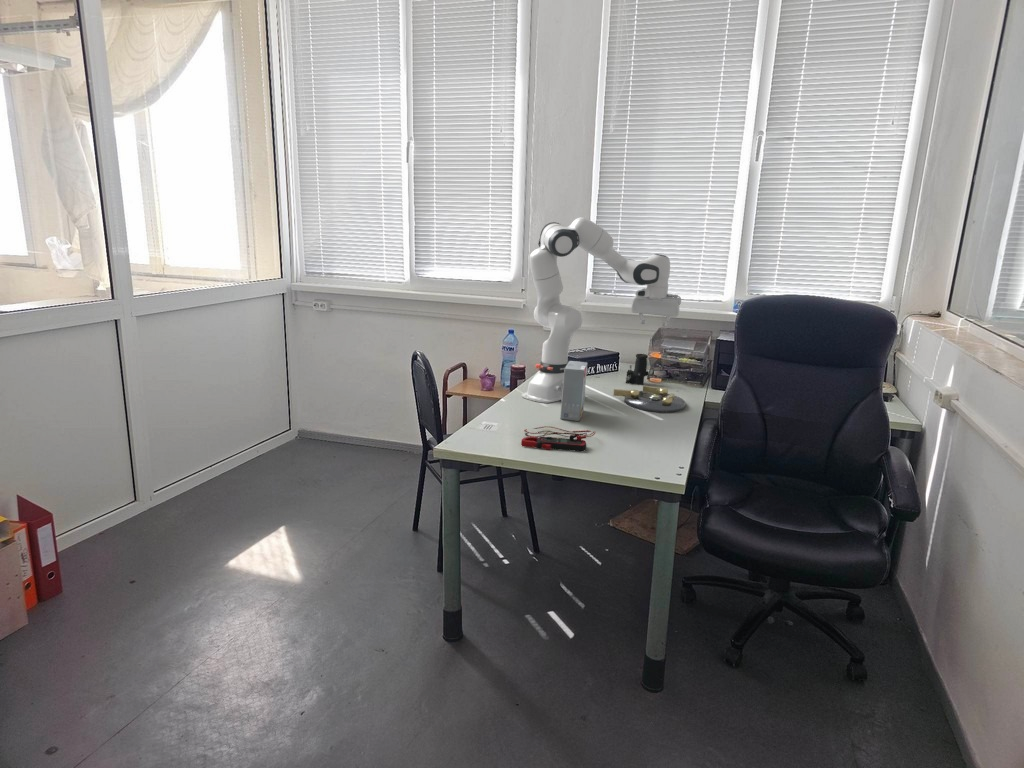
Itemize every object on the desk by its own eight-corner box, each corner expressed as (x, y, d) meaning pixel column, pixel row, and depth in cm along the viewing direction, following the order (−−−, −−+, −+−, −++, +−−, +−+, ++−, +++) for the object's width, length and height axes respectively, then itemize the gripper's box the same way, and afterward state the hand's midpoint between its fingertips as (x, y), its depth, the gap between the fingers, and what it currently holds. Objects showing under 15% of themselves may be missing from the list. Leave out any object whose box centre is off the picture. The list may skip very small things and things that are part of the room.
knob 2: (670, 406, 257) (671, 399, 256) (661, 404, 259) (662, 397, 258) (676, 400, 266) (677, 393, 266) (667, 398, 268) (668, 391, 267)
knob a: (668, 394, 275) (668, 387, 274) (666, 396, 271) (667, 389, 271) (643, 390, 278) (644, 384, 278) (642, 392, 275) (642, 386, 274)
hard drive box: (580, 421, 239) (584, 370, 234) (559, 419, 241) (563, 368, 236) (583, 410, 254) (587, 361, 249) (564, 408, 255) (568, 359, 250)
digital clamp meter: (595, 443, 206) (519, 436, 209) (594, 456, 207) (518, 449, 210) (595, 420, 228) (526, 415, 231) (594, 432, 230) (525, 426, 232)
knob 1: (638, 396, 269) (639, 389, 269) (639, 398, 266) (639, 391, 265) (613, 394, 271) (613, 387, 270) (613, 396, 267) (614, 389, 266)
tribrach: (669, 416, 251) (671, 407, 250) (613, 403, 265) (614, 394, 264) (693, 403, 270) (695, 395, 269) (640, 392, 284) (641, 383, 283)
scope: (630, 351, 301) (651, 354, 299) (627, 380, 305) (648, 382, 302) (627, 355, 294) (649, 357, 291) (624, 383, 298) (646, 386, 295)
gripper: (682, 294, 269) (679, 326, 272) (635, 290, 276) (632, 321, 280) (680, 295, 263) (676, 328, 267) (631, 291, 271) (628, 323, 274)
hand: (653, 325), depth 273 cm, fingers open, 8 cm apart
